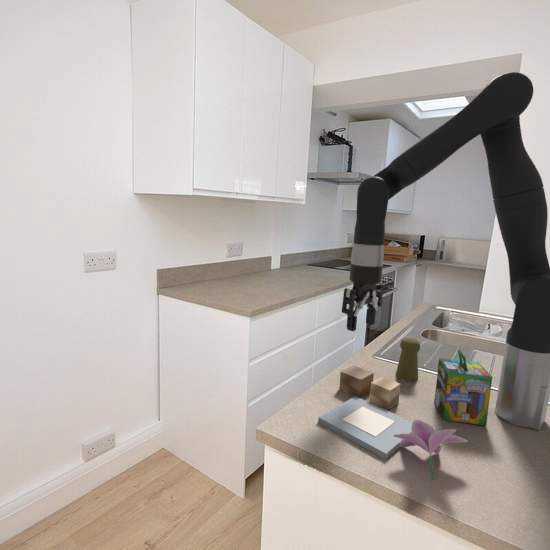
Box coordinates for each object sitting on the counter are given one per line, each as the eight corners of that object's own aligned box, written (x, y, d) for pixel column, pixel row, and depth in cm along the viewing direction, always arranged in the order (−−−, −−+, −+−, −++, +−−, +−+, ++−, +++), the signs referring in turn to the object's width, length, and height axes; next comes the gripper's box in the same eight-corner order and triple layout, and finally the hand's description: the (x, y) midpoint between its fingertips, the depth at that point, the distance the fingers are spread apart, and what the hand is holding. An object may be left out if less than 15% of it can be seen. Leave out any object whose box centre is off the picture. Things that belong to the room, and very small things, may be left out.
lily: (475, 476, 66) (466, 419, 69) (464, 487, 57) (454, 420, 60) (407, 469, 72) (402, 417, 76) (387, 478, 63) (382, 418, 67)
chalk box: (486, 427, 80) (496, 363, 77) (441, 421, 82) (450, 358, 79) (473, 405, 89) (481, 347, 86) (432, 400, 91) (440, 343, 88)
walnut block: (372, 391, 94) (373, 372, 94) (359, 398, 90) (360, 379, 89) (352, 382, 99) (353, 365, 98) (339, 389, 94) (340, 371, 94)
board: (419, 430, 78) (419, 424, 77) (385, 459, 68) (386, 452, 68) (354, 400, 89) (355, 395, 89) (318, 422, 79) (318, 416, 79)
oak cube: (398, 403, 89) (400, 383, 88) (388, 410, 85) (390, 390, 84) (379, 395, 92) (381, 376, 91) (369, 401, 89) (371, 382, 88)
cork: (395, 379, 101) (399, 341, 100) (395, 370, 107) (399, 334, 105) (419, 383, 100) (423, 344, 98) (417, 373, 105) (421, 337, 104)
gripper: (364, 267, 81) (357, 337, 84) (395, 262, 91) (389, 325, 94) (336, 262, 86) (331, 328, 89) (368, 259, 96) (363, 318, 99)
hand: (360, 327), depth 92 cm, fingers open, 8 cm apart
